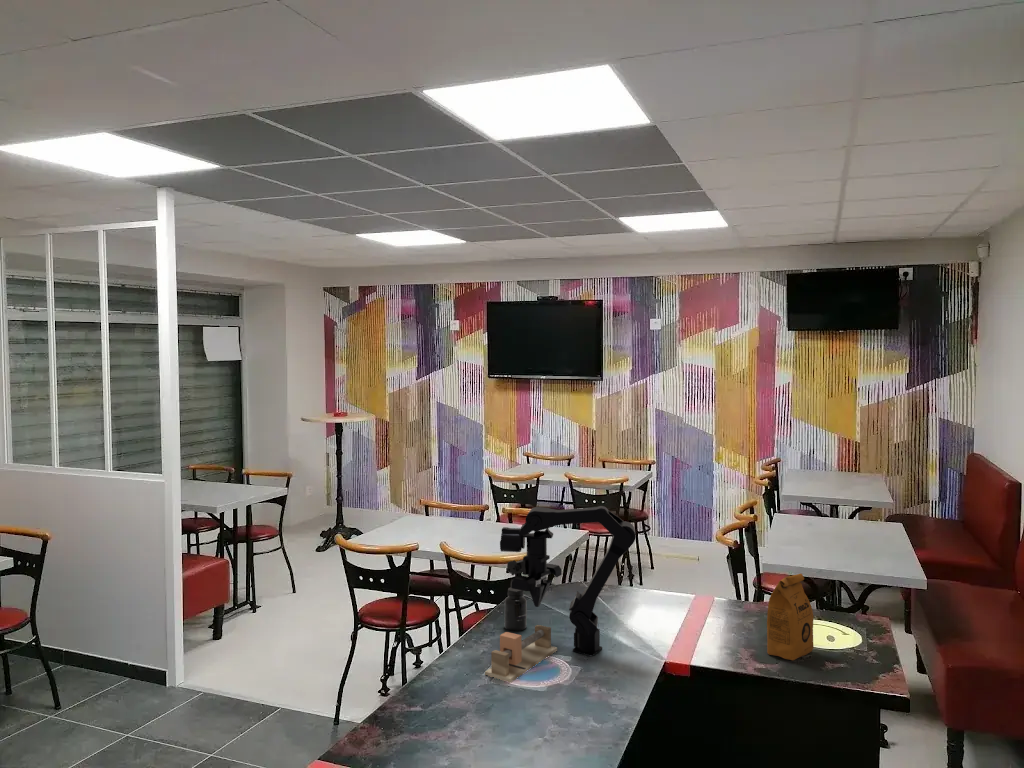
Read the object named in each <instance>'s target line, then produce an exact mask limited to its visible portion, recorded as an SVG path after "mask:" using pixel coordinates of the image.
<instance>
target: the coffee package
mask: <svg viewBox="0 0 1024 768" xmlns="http://www.w3.org/2000/svg"><path fill="white" fill-rule="evenodd" d="M804 580H805V577H804V575H803V573H798V574H793V575H789V576H785V577H784V578H781V580H779V581H778V583H777V584H776V586H775V587H774V589H773V591H772V592H771V593H770V597H769V599H768V604H767V614H766V615H767V616H766V617H767V618H766V619H767V620H766V635H767V636H766V638H767V639H766V640H767V642H766V643H767V648H766V649H767V655H769V656H770V655H771V656H775V657H780V658H782V659H783V660H790V661H795V660H797V659H799V658H801V657H804V656H806V655H808V654H811V653H812V652H813V650H814V648H815V647H814V629H813V628H814V611H813V607H812V604H811V602H810V599H809V598H808V595H806V593H805V590H804V588H803V584H802V582H803V581H804Z"/></svg>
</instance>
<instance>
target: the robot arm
mask: <svg viewBox="0 0 1024 768" xmlns="http://www.w3.org/2000/svg"><path fill="white" fill-rule="evenodd" d="M586 523H587V524H589V523H599V524H601V526H603V527H604V528H605V529H606V530H607V532H608V533H610V534H611V535H612V536H611V540H610V543H609V547H608V549H607V551H606V553H605V554H604V556H603V558H602V560H601V561H600V563H599V565H598V567H597V568H596V570H595V572H594V574H593V575H592V578H591V579H590V581H589V583H588V585H587V587H586V588H585V590H584V591H582V593H580V592H579V591H576V594H575V596H574V598H573V600H571V601H570V604H569V609H568V611H570V612H569V617H568V618H569V621H570V623H571V624H572V625H573V626H575V629H574V632H573V647H574V648H572V652H575V653H578V654H583V655H586V656H589V657H592V656H595V655H597V654H598V652H600V651H602V649H603V646H601V644H600V637H601V635H600V628H598V624H599V623H598V621H599V617H598V615H597V614H596V613H595V612H594V608H595V605H596V602H597V599H598V598H599V596H600V594H601V592H602V590H603V588H604V586H605V584H606V583H607V581H608V579H609V578H610V576H611V574H612V572H613V571H614V568H615V567H616V565H617V563H618V562H619V560H620V558H621V557H622V556H623V555H624V554H625V553H626V552H627V551H628V550H629V549H631V547H632V546H633V544H634V543H635V541H636V529H635V526H634V525H633V523H631V522H629V521H624V520H622V519H621V518H620V516H618V515H616V514H615V513H613V512H612V511H610V510H609V509H608V508H607V507H606V506H604V505H598V506H594V507H581V508H579V507H578V508H567V509H565V508H564V509H554V508H550V507H543V506H535V507H533V508H531V509H530V510H529V511H528V513H527V514H526V516H525V523H523V524H522V525H521V527H520V528H514V527H505V526H504V527H502V528H501V534H500V541H499V547H500V548H499V550H500V552H502V553H503V552H505V553H507V552H508V553H509V552H510V553H521V552H522V550H524V549H525V548H526V555H524V556H523V558H522V559H520V560H517V561H516V560H515V559H514V560H510V561H508V562H507V565H506V571H507V572H508V573H509V574H511V576H515V575H516V574H517V576H516V577H513V578H512V579H511V580H510V588H513V589H518V590H523V592H529V593H530V596H531V600H532V602H533V605H534V608H535V607H536V608H538V607H540V605H541V603H542V601H543V599H544V597H545V594H546V592H547V590H548V589H549V587H550V586H551V585H550V584H551V583H552V580H549V579H548V576H549V575H551V574H552V575H554V577H555V578H559V577H560V576H562V568H561V567H560V565H558V564H553V563H547V561H548V560H550V557H551V556H550V555H549V554H547V553H548V552H547V545H548V543H547V542H548V541H547V540H548V539H553V537H554V532H552V531H551V530H550V528H553V527H556V526H560V525H572V524H573V525H574V524H586ZM518 574H520V575H518Z"/></svg>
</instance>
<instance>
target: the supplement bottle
mask: <svg viewBox="0 0 1024 768" xmlns="http://www.w3.org/2000/svg"><path fill="white" fill-rule="evenodd" d="M527 603H528V602H527V599H526V597H524V591H523V590H518V589H513V588H511V587H508V589H507V597H505V599H504V628H505V629H506V630H508V631H510V632H511V631H512V632H513V631H514V632H519V631H523V630H525V629H526V628H527V620H528V619H527V616H528V614H527V611H528V610H527V606H528V605H527Z"/></svg>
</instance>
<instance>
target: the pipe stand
mask: <svg viewBox="0 0 1024 768" xmlns="http://www.w3.org/2000/svg"><path fill="white" fill-rule="evenodd" d="M521 640H522V661H521V662H520V663H518V664H517V665H512V664H509V657H511V656H512V650H511V649H507V650H505V651H504V652H501V651H500V650H496V649H494V650H492V651H491V652H490V654H491V655H490V656H491V661H490V662H491V665H490V668H488V669H487V670H485V671H484V676H485V675H488V676H487V677H489V676H490V678H492V677H494V678H493V679H496V678H497V679H496V680H499V679H500V681H504V682H506V681H508V683H510V682H511V683H512V682H513V680H514V681H515V680H516V678H517V677H518V678H519V676H520V675H521V676H523V675H524V674H525V672H526V671H527V670H528V671H530V670H531V669H533V668H534V667H536V666H537V665H538V663H539V662H540V663H541V661H542V660H543V659H545V658H546V657H548V656H549V657H551V656H553V653H554V652H555V653H557V652H558V647H556V646H552V627H549V626H546V625H542V624H541V625H540V624H537V625H535V626H534V633H532V634H530V635H528V636H527V637H526V638H524V639H521ZM556 651H557V652H556ZM555 653H554V654H555ZM550 655H551V656H550ZM549 657H548V658H549ZM546 659H547V658H546ZM546 659H545V660H546ZM543 661H544V660H543ZM543 661H542V662H543ZM540 663H539V664H540ZM536 664H537V665H536ZM535 665H536V666H535ZM533 666H534V667H533ZM532 667H533V668H532ZM530 668H531V669H530ZM529 669H530V670H529ZM528 671H527V672H528ZM527 672H526V673H527ZM523 673H524V674H523ZM522 674H523V675H522ZM521 676H520V677H521ZM518 678H517V679H518Z"/></svg>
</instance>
